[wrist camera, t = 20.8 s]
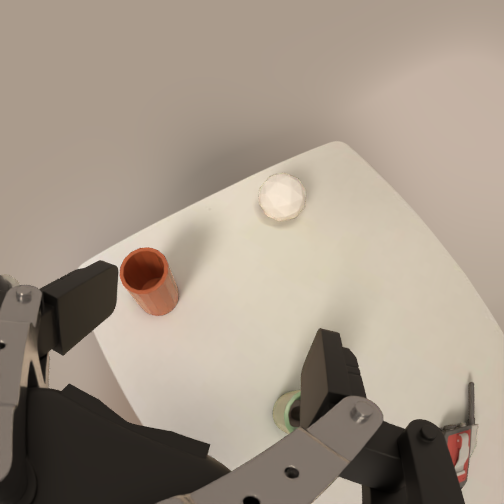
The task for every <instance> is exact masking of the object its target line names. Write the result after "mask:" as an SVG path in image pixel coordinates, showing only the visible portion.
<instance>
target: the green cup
mask: <svg viewBox="0 0 504 504" xmlns="http://www.w3.org/2000/svg"><path fill="white" fill-rule="evenodd" d="M295 400H301V390H296V391H291V392H288V393H286V394H284V395H282V396H281V397H280V398H279V399H278V400H277V401H276V403H275V405H274V407H273V419H274V422H275V424H276V425H277V427H278V428H279V429H281V430H282V431H284V432H285V433H287V434H290V433H291V432H292V431H294V430H295V429H297V428H299V427H294V426H291V425H290V423H289V416H288V414H289V411H290V407H291V405H292V404H293V402H294V401H295Z"/></svg>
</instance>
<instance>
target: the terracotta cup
mask: <svg viewBox="0 0 504 504" xmlns="http://www.w3.org/2000/svg"><path fill="white" fill-rule="evenodd" d="M120 279H121V281H122V284H123V286H124V287H125V288H126V289H127V291H128V292H129V293H130V294H131V296H132V297H133V298H134V299H135V301H136V302H137V303H138V304H139V305H140V307H141V308H142V309H143V310H144V311H145V312H147V313H148V314H151V315H155V316H160V315H165V314H167V313H169V312H170V311H171V310H173V308H174V307H175V306H176V304H177V302H178V298H179V292H178V288H177V285H176V283H175V280H174V278H173V275H172V273H171V270H170V268H169V265H168V263H167V261H166V258H165V256H164V255H163V254H162V253H161V252H159V251H158V250H156V249H153V248H149V247H148V248H139V249H137V250H135V251H133V252H131V253H130V254H129V255H128V256H127V257H126V258H125V259H124V261H123V263H122V265H121V267H120Z"/></svg>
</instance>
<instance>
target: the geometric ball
mask: <svg viewBox="0 0 504 504" xmlns="http://www.w3.org/2000/svg"><path fill="white" fill-rule="evenodd" d="M305 202H306V190H305V188H304V187H303V185H302V183H301V182H300V180H299V179H298V178H296V177H294V176H291V175H289V174H286V173H280V174H275V175H272V176H270V177H269V178H268V179H267V180H266V181H265V182H264V183H263V184H262V186H261V187H260V190H259V204H260V206H261V207H262V209H263V211H264V212H265V214H266V215H267V216H269V217H271V218H274V219H276V220H278V221H284V220H289V219H293V218H296V216H297V215H298V214H299V213H300V212H301V211H302V210H303V208H304V207H305Z"/></svg>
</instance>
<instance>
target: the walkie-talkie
mask: <svg viewBox="0 0 504 504" xmlns="http://www.w3.org/2000/svg"><path fill="white" fill-rule="evenodd" d="M477 429H478V424H475V418H474V383H473V382H470V383H469V419H468V425H466V423H465V422H463V423H460V426H459V427H456V425H448V426H445V427H444V431H442V433H443V435H444V437H445V440H446V443H447V446H448V449H449V452H450V455H451V458H452V461H453V464H454V467H455V470H456V474H457V477H458V480H459V484H460V487H461V489H462V488H463V486H464V485H465V483H466V481H467V476H468V475H467V474H468V468H469V459H470V457H471V455H472V453H473V451H474V449H475V447H476V444H477Z"/></svg>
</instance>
